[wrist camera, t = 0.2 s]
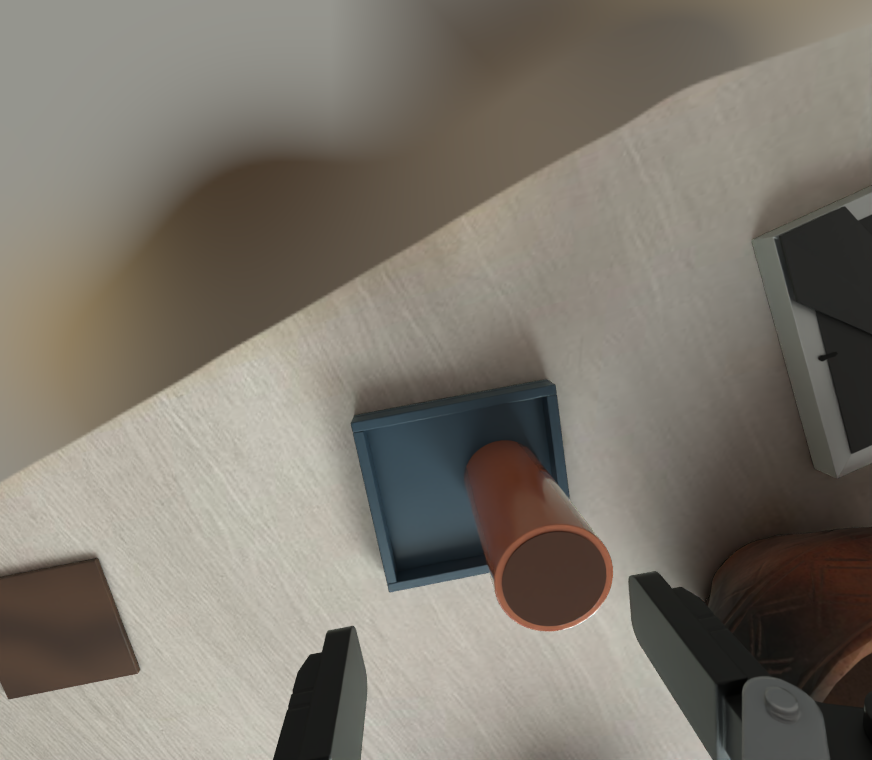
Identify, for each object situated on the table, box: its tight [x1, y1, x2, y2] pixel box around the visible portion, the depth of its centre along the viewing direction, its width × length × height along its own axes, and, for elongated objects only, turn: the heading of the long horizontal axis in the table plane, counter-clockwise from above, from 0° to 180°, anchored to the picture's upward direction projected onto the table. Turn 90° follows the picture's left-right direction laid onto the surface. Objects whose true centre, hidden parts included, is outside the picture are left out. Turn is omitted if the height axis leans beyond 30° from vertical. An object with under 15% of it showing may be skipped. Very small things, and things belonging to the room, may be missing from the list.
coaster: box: [0, 558, 140, 699], centre depth 37 cm, size 11×11×1 cm
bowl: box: [705, 527, 872, 708], centre depth 33 cm, size 25×25×15 cm
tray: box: [351, 379, 570, 592], centre depth 36 cm, size 15×16×2 cm
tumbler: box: [464, 440, 613, 631], centre depth 30 cm, size 6×6×13 cm
